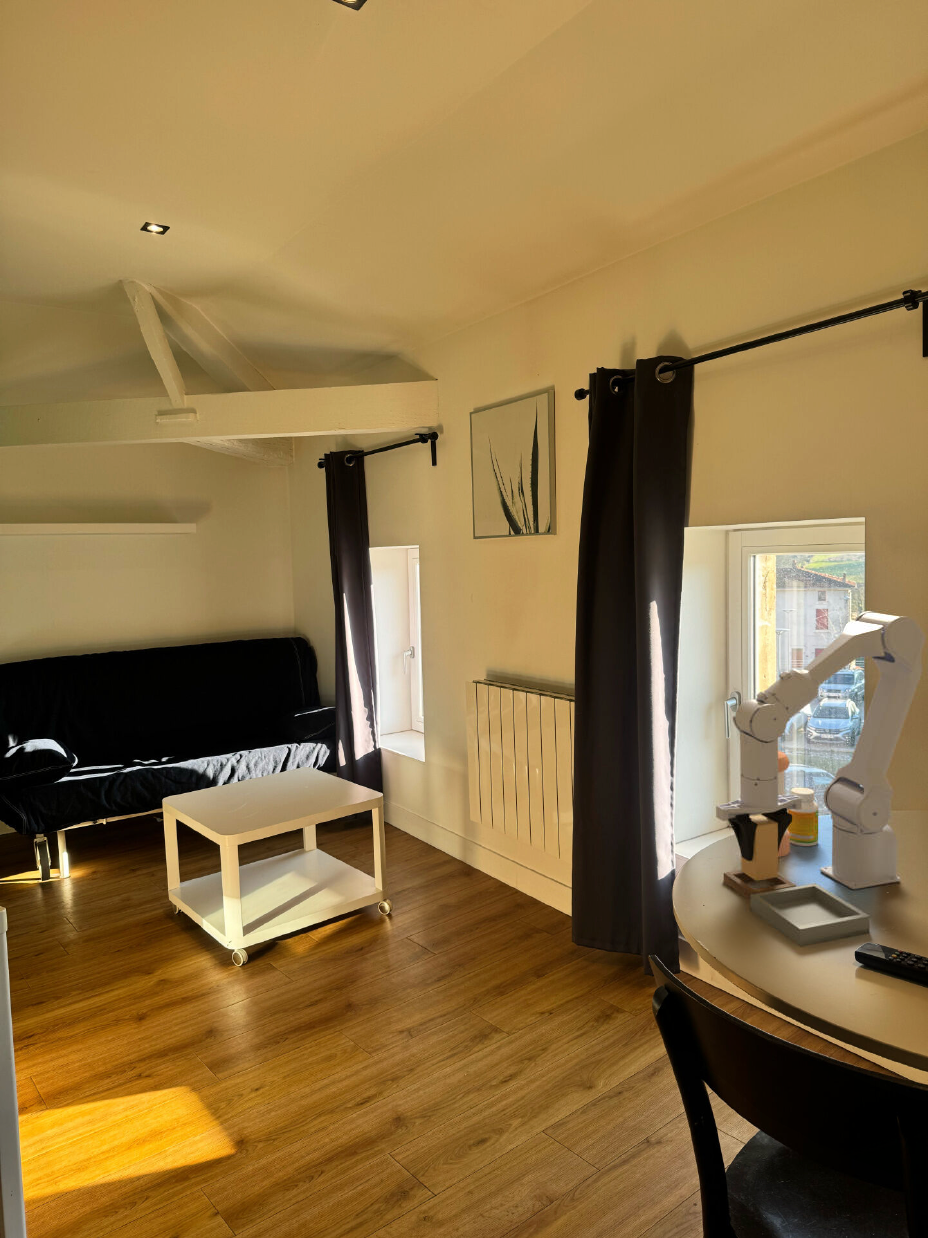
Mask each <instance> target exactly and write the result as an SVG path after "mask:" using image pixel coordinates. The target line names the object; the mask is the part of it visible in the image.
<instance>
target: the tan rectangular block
mask: <svg viewBox="0 0 928 1238" xmlns="http://www.w3.org/2000/svg"><path fill="white" fill-rule="evenodd" d="M750 818H751V821H753V822H755V823H757V824H758V826H757V828H756V832H755V836H754V853H753V860H752V861H747V860H746V859H744V858H743V857H742V856H741V855H740V858H741V861H740V863H741V864H740V866H741V869H740V870H741V871H742V872H744V873H745V874H747V875H748V876H750V877H751V878H753V879H754V881H756V882H757V881H762V880H763V881H764V880H767V879H769V878H775V877H778V874H779V868H778V867H779V865H778V864H779V859H778V858H779V857H778V823H777V822H775V821H773V820H771V819H769V818H767V817H765V816H764V815H758V816H752V817H750Z"/></svg>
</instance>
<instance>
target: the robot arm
mask: <svg viewBox="0 0 928 1238" xmlns="http://www.w3.org/2000/svg"><path fill="white" fill-rule="evenodd" d="M926 640H927V636H926V634H925V633H924V631H923V629H922V628H921V626H920V624H919V623H918V622H917V621H916V620H915V619H914V618H912V617H911V616H910V617H909V616H905V615H902V616H901V615H900V616H899V615H898V616H897V615H892V614H886V613H879V612H876V611H872V610H871V611H870V610H869V611H864V612H862V613H860V614H858V615H857V616H856V617H855V619H854V620H851V621H849V622H848V623H846V625H845V626H844V629H843V631H842V632H841V633H840V635H839V636H837V637H836V638H835V639H834V640H833V641H832V642H831V643H830V644H829V645H828V646H826V647H825V649H823V651H821V652H820V653H819V654H818V655H817V656H816V657H815V658H814V659H813V660H812V661H810V662H809V663H808V664H807V665H806V666H805V667H804V668H803V669H790V670H789V671H782V672H781V673H780V674H779V675H778V677H779V679H778V680H776V681H775V682H774V683H773V684H772V685H770V686H769V687H767V689H765V690H764V691H760V692H759V693H757V694H756V699H754V698H753V699H752V698H751V699H747V700H745V701H743V702H742V703H741V704H740V705H739V706H738V708H737V710H736V712H735V715H733V716H732V721H733V724H734V727H735V728H736V729H737V730H738V733H739V741H740V744H739V745H740V747H739V748H740V749H739V754H740V756H739V757H740V759H739V761H740V763H739V765H740V767H739V768H740V769H739V771H740V772H739V773H740V775H739V776H740V782H739V783H740V785H739V786H740V795H739V796H740V797H739V798H737V799H735V800H732V801H729V802H726V803H724V804H718V805H716V807H715V809H716V810H715V811H716V812H715V814H716V816H715V817H716V818H718V819H719V820H721V821H723V822H725V821H728V823H729V825H730V826H731V828H732V830H733V833H734V835H735V837H736V840H737V843H738V847H739V850H740V851H739V852H740V857H741V856H742V857H743V858H744V859H746V860H747V861H752V860H753V853H754V836H755V832H756V828H757V826H758V824H757V823H755V822H753V821H751V818H750V815H755V814H762V815H764V816H765V817H767V818H769V819H771V820H773V821H775V822H777V823H778V851H779V847H780V844H781V841H782V838H783V836H784V833H785V831H786V830H787V828H788V826H789V825H790V823H791V822H792V815H791V814H790V813H788V812H787V810H788V809H795V810H800V809H802V798H801V797H798V796H796V795H794V794H793V795H791V794H785V795H778V751H779V738H780V737H782V736H783V735H784V733H785V731H786V728H787V726H788V723H789V721H790V720H791V719H792V718H793V717H794V716H795V715H797V714H798V713H799V712H801V711H802V710H803V709H804V708H805V707H807V706H808V705H809V704H810V703H811V702H813V701H814V700H815V699H816V698H817V697H818V693H819V686H820V685H822V684H823V683H824V682H826V681H827V680H828V679H830V678H831V677H832V676H834V675H835V674H837V673H838V672H840V671H841V670H843V669H844V668H845V667H847V666H848V665H849V664H851V663H852V662H853V661H855V660H857V659H858V658H869V657H870V658H871V659H872V660H873V662H874V663H875V666H876V667H877V669H878V671H879V672H880V676H879V679H878V682H877V684H876V688H875V691H874V694H873V696H872V699H871V702H870V705H869V708H868V711H867V713H866V716H865V719H864V722H863V725H862V728H861V731H860V734H859V737H858V739H857V742H856V745H855V748H854V751H853V754H852V757H851V760H850V762H849V763H847V764H846V765H844V766H843V765H842V766H841V767H840V768H838V769H837V770H836V774H835V776H834V778H833V779H832V780H831V781H830V783H829V784H828V785H827V786H826V788H825V790H824V792H823V803H824V806H825V807H826V808H827V810H828V811H829V812H830V818H831V820H832V829H831V831H832V832H831V833H832V834H831V835H832V837H831V838H832V839H831V840H832V841H831V842H832V844H831V847H832V849H831V851H832V852H831V854H832V855H831V865H829V866H823V867H820V868H819V870H820V872H821V873H823V874H825V875H827V876H829V877H830V878H832V879H834V880H836V882H839V883H840V884H843V885H844V886H846V887H848V888H850V889H852V890H857V889H863V888H869V887H874V886H875V887H876V886H880V885H885V884H890V883H897V882H901V877H899V876H898V875H897V871H898V870H897V868H898V867H897V865H898V864H897V862H898V858H897V857H898V841H897V837H896V834H895V831H894V830H893V828H892V827H891V826H890V825H889V824H888V823H889V821H890V819H891V816H892V806H891V805H892V804H891V802H892V797H893V795H894V790H893V787H892V786H891V783H890V781H889V779H888V777H887V773H888V769H889V767H890V764H891V761H892V759H893V756H894V754H895V750H896V747H897V744H898V741H899V739H900V735H901V733H902V731H903V727H904V724H905V723H906V722H905V721H906V719H907V716H908V713H909V710H910V707H911V705H912V702H913V699H914V696H915V693H916V691H917V688H918V686H919V685H918V684H919V682H920V679H921V677H922V673H923V672H922V671H923V668H922V664H923V663H922V652H923V648H924V645H925V642H926Z"/></svg>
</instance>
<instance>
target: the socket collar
mask: <svg viewBox="0 0 928 1238" xmlns="http://www.w3.org/2000/svg"><path fill="white" fill-rule="evenodd" d="M752 880H754V879H753V878H751V877H750V876H748V875H747V874H745V873H744V872H742V871H741V869H740V870H733V871H728V872H727V871H726V872H723V883H725V885H728V886H729V887H730V888H732V889H733V890H735V891H736V892H737V893H739V894H740V895H741V896H743V897H744V898H746V899H748V900H749V901H750V902H751V894H757V893H763V892H768V891H774V890H780V889H785V888H791V887H797V884H795V883H794V882H791V881H790V880H788V879H787V878H785V877H784V876H782V875H780V874H779V873H778V877H775V878H769V879H766V880H767V881H768V882H770V883H771V884H773V885H772V886H766V887H760V888H753V887H752V886H750V885H749V884H747V883H746V881H752ZM754 881H755V880H754Z"/></svg>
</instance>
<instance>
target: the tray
mask: <svg viewBox="0 0 928 1238" xmlns="http://www.w3.org/2000/svg"><path fill="white" fill-rule="evenodd" d="M750 911H752V912H753V913H754V914H755V915H757V916H758V917H760V918H761V919H762V920H764V921H765V922H767V923H768V924H769V925H771V927H773V928H775V929H776V930H777V931H779V932H780V933H782V934H783V935H784V936H785V937H787V938H789V939H790V940H791V941H792V942H794V943H795V944H797V945H798V946H800V947H802V946H803V947H804V946H808V945H813V944H814V945H815V944H818V943H824V942H829V941H833V940H839V939H845V938H848V937H854V936H857V935H863V934H868V933H870V923H871V922H870V921H871V917H870V915H869V914H868V913H865V912H864V911H862V910H861V909H859V908H857V907H855V906H854V905H853V904H851V903H849V902H847V901H845V900H844V899H842V898H840V897H839V896H837V895H836V894H834V893H832V892H831V891H829V890H827V889H825V888H824V887H822V886H820V885H819V884H817V883H808V884H804V885H803V884H802V885H798V886H797V885H796V887H791V888H785V889H780V890H774V891H768V892H763V893H757V894H751V901H750Z"/></svg>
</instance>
